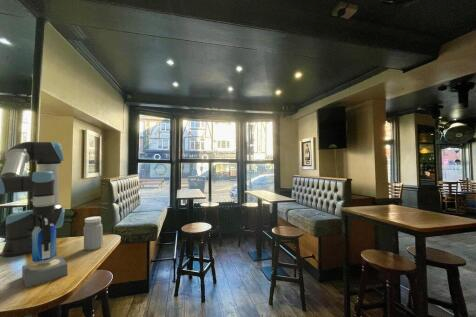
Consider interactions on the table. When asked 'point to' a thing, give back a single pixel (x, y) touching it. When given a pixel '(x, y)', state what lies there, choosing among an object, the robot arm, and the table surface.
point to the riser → (43, 271)
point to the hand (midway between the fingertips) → (44, 255)
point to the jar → (93, 233)
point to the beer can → (38, 248)
